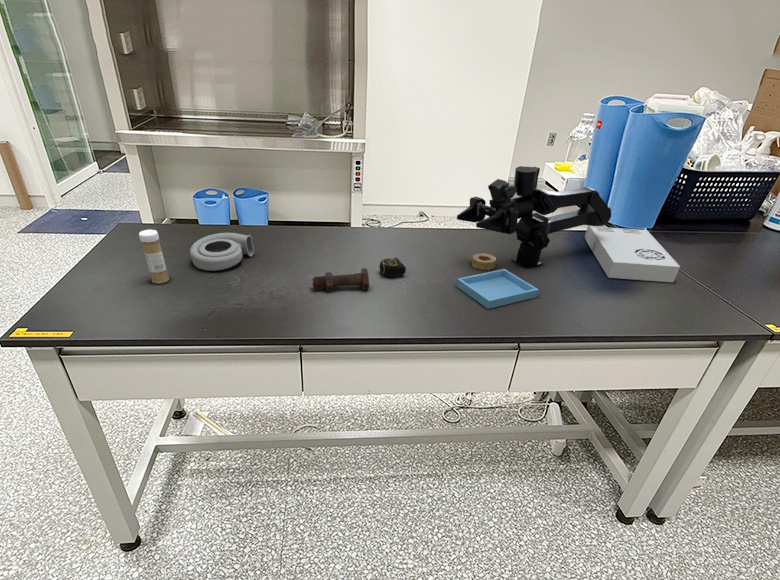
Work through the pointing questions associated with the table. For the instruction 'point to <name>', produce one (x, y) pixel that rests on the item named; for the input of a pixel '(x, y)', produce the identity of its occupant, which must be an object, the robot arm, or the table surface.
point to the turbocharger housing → (221, 251)
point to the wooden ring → (483, 261)
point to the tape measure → (392, 267)
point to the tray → (496, 288)
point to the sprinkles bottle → (154, 256)
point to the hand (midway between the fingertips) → (466, 221)
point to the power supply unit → (631, 254)
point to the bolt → (342, 280)
